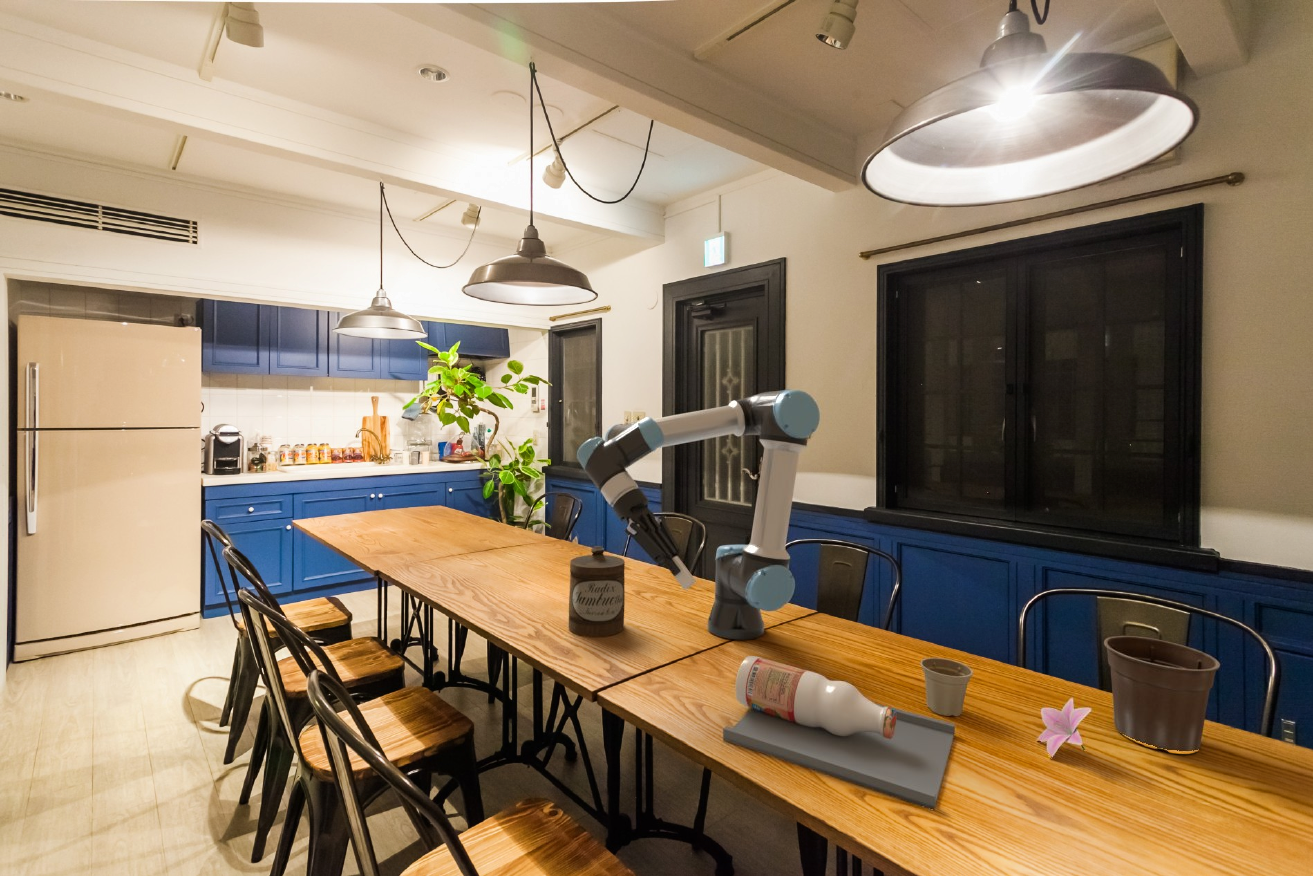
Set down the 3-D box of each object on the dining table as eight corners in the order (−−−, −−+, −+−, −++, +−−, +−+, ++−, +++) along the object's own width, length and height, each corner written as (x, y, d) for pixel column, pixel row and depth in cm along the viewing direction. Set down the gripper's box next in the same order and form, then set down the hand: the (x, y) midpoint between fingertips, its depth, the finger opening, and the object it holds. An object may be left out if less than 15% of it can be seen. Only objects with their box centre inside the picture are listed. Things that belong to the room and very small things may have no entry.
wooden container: (571, 639, 153) (573, 552, 153) (566, 620, 168) (567, 541, 167) (628, 635, 157) (630, 551, 156) (618, 617, 171) (620, 540, 171)
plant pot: (1182, 771, 100) (1187, 674, 100) (1081, 725, 115) (1084, 641, 114) (1235, 752, 107) (1239, 661, 106) (1132, 711, 121) (1136, 631, 121)
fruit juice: (755, 647, 122) (900, 686, 106) (755, 692, 123) (899, 737, 107) (733, 665, 115) (886, 709, 99) (733, 712, 115) (885, 764, 99)
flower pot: (967, 703, 123) (968, 661, 123) (975, 725, 114) (977, 680, 114) (916, 695, 126) (918, 654, 126) (920, 716, 117) (922, 672, 117)
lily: (1043, 734, 113) (1022, 693, 113) (1111, 730, 107) (1089, 687, 106) (1044, 779, 104) (1021, 735, 104) (1117, 778, 98) (1093, 731, 97)
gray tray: (723, 740, 106) (723, 728, 106) (776, 687, 128) (777, 678, 128) (934, 810, 88) (934, 797, 88) (954, 735, 110) (955, 724, 110)
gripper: (631, 505, 140) (693, 589, 131) (597, 511, 129) (662, 603, 120) (651, 484, 137) (716, 568, 128) (618, 489, 126) (686, 581, 117)
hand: (690, 585), depth 124 cm, fingers closed
